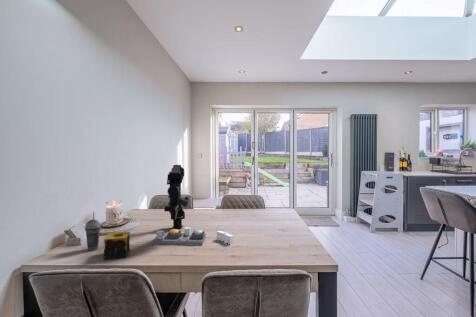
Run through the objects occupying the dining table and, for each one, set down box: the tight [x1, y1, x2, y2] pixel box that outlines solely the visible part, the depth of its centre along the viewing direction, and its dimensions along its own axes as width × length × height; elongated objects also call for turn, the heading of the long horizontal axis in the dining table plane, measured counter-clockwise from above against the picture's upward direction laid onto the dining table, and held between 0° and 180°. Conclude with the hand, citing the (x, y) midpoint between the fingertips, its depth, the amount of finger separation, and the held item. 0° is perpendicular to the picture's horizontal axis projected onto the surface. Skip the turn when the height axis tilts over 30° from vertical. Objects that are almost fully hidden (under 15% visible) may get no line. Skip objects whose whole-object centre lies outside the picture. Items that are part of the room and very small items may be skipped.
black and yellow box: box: [103, 231, 131, 261], centre depth 122 cm, size 10×10×10 cm
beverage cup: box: [84, 211, 102, 252], centre depth 128 cm, size 7×7×20 cm
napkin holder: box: [216, 230, 234, 245], centre depth 141 cm, size 15×11×6 cm
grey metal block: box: [156, 230, 165, 240], centre depth 139 cm, size 3×3×4 cm
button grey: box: [193, 229, 203, 235], centre depth 142 cm, size 5×5×2 cm
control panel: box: [151, 230, 207, 246], centre depth 143 cm, size 13×28×4 cm, turn 89°
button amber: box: [169, 228, 180, 234], centre depth 143 cm, size 5×5×2 cm
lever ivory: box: [183, 226, 192, 235], centre depth 146 cm, size 3×3×4 cm
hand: (174, 220), depth 143 cm, fingers closed
